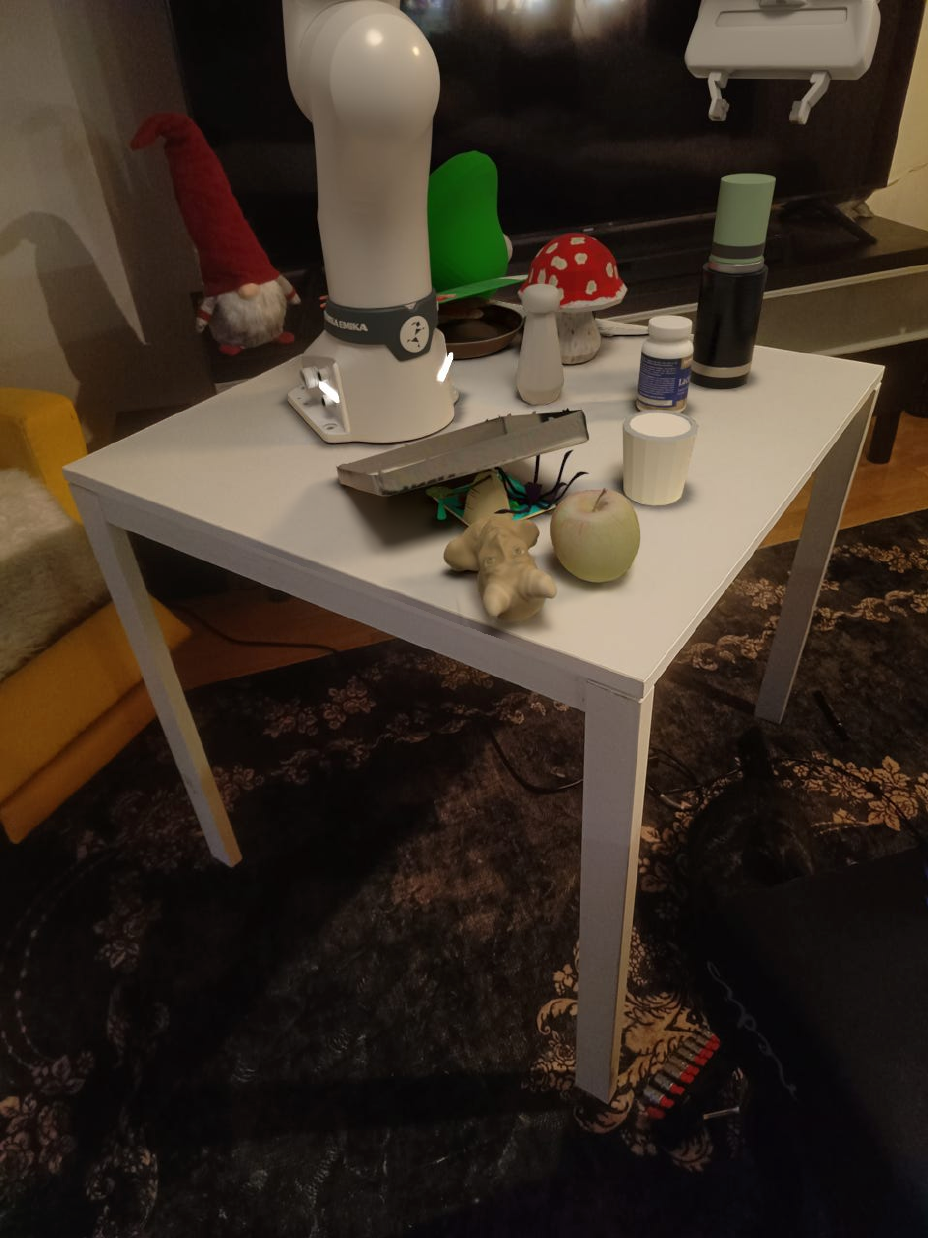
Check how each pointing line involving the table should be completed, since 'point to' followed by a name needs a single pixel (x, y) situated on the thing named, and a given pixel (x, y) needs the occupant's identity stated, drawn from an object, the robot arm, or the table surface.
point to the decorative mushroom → (577, 290)
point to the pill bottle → (665, 365)
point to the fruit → (595, 534)
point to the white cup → (657, 455)
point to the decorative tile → (465, 451)
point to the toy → (465, 224)
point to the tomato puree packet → (478, 288)
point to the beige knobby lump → (503, 566)
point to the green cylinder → (742, 218)
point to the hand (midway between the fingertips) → (755, 120)
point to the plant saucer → (481, 332)
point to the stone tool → (462, 309)
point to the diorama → (498, 496)
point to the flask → (727, 323)
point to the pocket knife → (619, 331)
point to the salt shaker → (540, 347)
